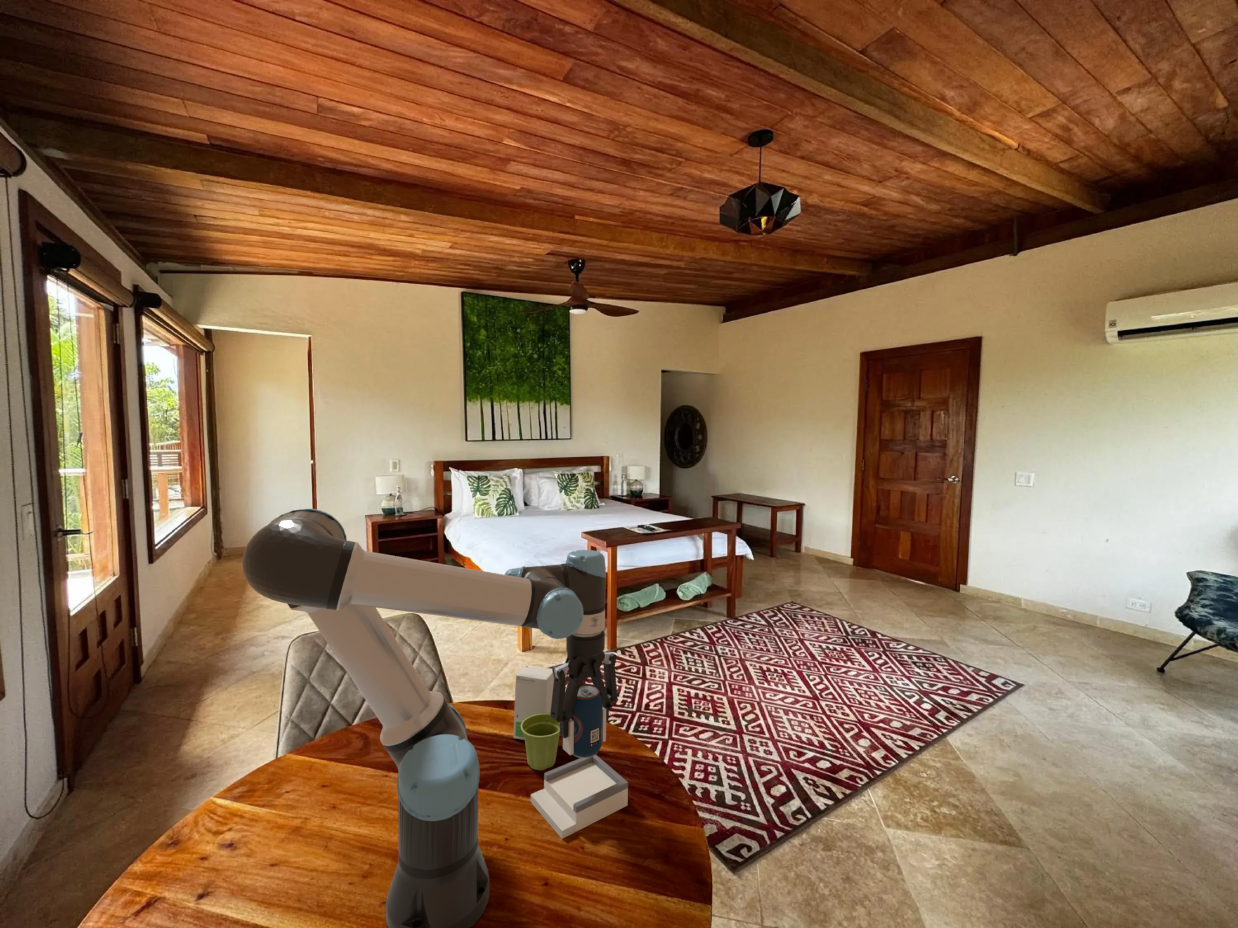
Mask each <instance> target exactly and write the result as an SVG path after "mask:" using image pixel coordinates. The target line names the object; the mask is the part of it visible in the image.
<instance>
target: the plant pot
mask: <svg viewBox="0 0 1238 928" xmlns="http://www.w3.org/2000/svg"><path fill="white" fill-rule="evenodd" d="M521 730H522V732H523V735H524V737H525V740H524V742H525V743H524V746H525V753H526V760H527V764H528V766H529V767H530V768H531V769H532V770H537V771H544V770H546V769H549V768H552V767H553V766H554V765H555V763H556V758H557V754H558V753H557V752H558V746H559V739H560V736H561V735H560V722H557V721H556V720H555V719H553V718H552V717H551V716H550V714H546V713H543V714H536V715H532V716H530V717H528V718H526V719H525V720H524V721H523V722H522V724H521Z"/></svg>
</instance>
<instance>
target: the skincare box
mask: <svg viewBox="0 0 1238 928" xmlns="http://www.w3.org/2000/svg"><path fill="white" fill-rule="evenodd" d="M552 669H553V668H549V667H543V666H541V665H540V666H535V665H529V664H524V666H523V667H521V669H520V670H519V671H518V672H517V673H516V674H515V689H514V690H515V691H514V692H515V693H514V712H513V713H514V715H513V716H514V720H513V738H514V739H518V740H524V741H525V737H524V735H523V732H522V730H521V724H522V722H523V721H524V720H525V719H526V718H528V717H530V716H532V715H536V714H543V713H546V714H550V712H551V703H552V693H553V684H554V676H553V671H552Z"/></svg>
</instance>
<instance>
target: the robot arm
mask: <svg viewBox="0 0 1238 928" xmlns="http://www.w3.org/2000/svg"><path fill="white" fill-rule="evenodd" d="M347 539H348V537H347V534H346V531H345V528H344V527H343V525H342V524H341V522H339V520H338V519H336V517H334V516H333V515H332V514H330V513H328V512H326V511H323V510H321V509H316V508H298V509H292V510H290V511H289V512H285V513H282V514H280V515H279V516H278V517H275V518H274V519H272V520H271V521H270V522H269V523H268V524H267V525H265V526H264V527H262V528H261V529H259V530H258V531H257V532H256V533H254V535H253V536H252V537H251V539H250V540H249V542H247V544H246V547H245V549H244V551H243V553H242V554H243V555H242V560H241V561H242V562H241V564H242V572H243V575H244V578H245V580H246V582H247V583H248V584H249V586H250V587H251V588H252V589H253V590H254V591H255V592H256V593H257V594H259V595H261V596H263V597H264V598H267V599H269V600H270V601H276V602H279V603H282V604H287V606H288V607H289V608H290V610H292V611H298V612H305V613H307V615H308V616H309V618H310V619H311V621H312V622H313V624H314V626H315V627H316V628H317V630H318V632H319V633H320V634H321V636H322V637H323V639H324V640H325V642H326V643H327V644H328V647H329V648H330V649H331V651H332V652H333V654H334V655H335V657H336V658H337V660H339V662H340V664H341V666H342V667H343V669H344V670H345V671H346V673H347V675H348V676H349V678H350V679H351V681H352V682H353V683H354V685H355V687H356V688H357V689H358V691H359V692H360V694H361V695H362V697H363V699H364V700H365V701H366V703H367V704H368V706H369V707H370V708H371V711H372V712H373V713H374V714H375V716H376V717H377V719H378V721H379V722H380V723H381V725H382V729H381V732H380V735H379V741H380V743H381V744H382V746H383V747H384V749H385V750H386V752H387V754H389V756H390V758H391V759H392V761H393V762H394V763H395V765H396V768H397V771H398V775H397V778H396V791H397V792H396V793H397V796H398V799H397V800H398V802H397V803H398V804H397V805H398V816H397V817H398V822H397V823H398V826H397V827H398V836H397V837H398V862H397V865H396V868H395V871H394V874H393V877H392V880H391V883H390V886H389V889H388V892H387V896H386V902H385V922H386V926H388V927H387V928H470V927H471V928H472V927H473V926H474V925H475V924H476V923H477V922H478V920H479V919H480V918H481V916H482V915H483V913H484V912H485V910H486V908H487V905H488V903H489V898H490V873H489V869H488V867H487V864H486V861H485V858H484V855H483V853H482V850H481V847H480V846H479V783H480V776H481V775H480V774H481V770H480V769H481V768H480V762H479V758H478V753H477V751H476V748H475V746H474V745H473V744H472V743H471V742H470V741H469V740H468V731H467V729H466V728H467V727H466V723H465V721H464V719H463V717H462V715H461V713H459V711H458V710H457V709H456V708H455V707H454V706H452V705H451V704H449V702H448V701H447V700H446V698H445V697H444V695H443V694H442V693H441V692H439V691H434V690H433V691H430V690H428V688H427V686H426V685H425V683H424V681H423V680H422V678H421V677H420V675H419V673H418V671H416V669H415V667H414V666H413V664H412V663H411V660H410V659H409V658H408V656H407V655H406V653H405V651H404V650H403V648H402V647H401V645H400V643H399V642H398V640H397V639H396V637H395V635H394V634H393V633H392V631H391V629H390V627H389V626H388V624H387V623H386V621H385V620H384V618H383V617H382V615H381V614H380V611H378V609H384V610H392V611H400V612H406V613H407V612H408V613H409V612H410V613H416V614H424V615H429V616H430V615H433V616H439V617H446V618H452V619H462V620H468V621H475V622H477V621H478V622H482V623H483V622H485V623H492V624H499V625H508V626H515V627H524V628H527V629H528V628H529V629H536V630H539V631H540V632H541V633H542V634H544V635H546V636H548V637H549V638H551V639H554V640H555V639H556V640H559V639H560V640H562V639H566V643H565V645H566V654H567V657H566V659H565V662H564V663H563V664H562V665H560V666H557V665H554V666H553V667H552V668H551V669H552V671H553V676H554V684H553V693H552V703H551V712H550V716H551V717H552V718H553V719H555V720H556V721H557V722H560V735H559V736H561V737H562V749H563V751H565V752H566V753H567V754H568V755H569V756H572V755H573V752H574V721H573V720H572V719H571V715H572V711H573V708H574V705H575V701H576V698H577V695H578V691H579V688H580V687H581V686H582V684H584V681H585V680H587V679H591V682H592V685H595V686H596V687H597V688H599V690H600V694H601V696H602V698H603V709H602V743H604V742H607V723H608V722H609V719H610V714H609V713H610V710H611V709H613V706H614V705H613V704H612V703H616V702H618V698H619V696H618V688H617V676H616V661H617V655H616V654H615V653H613V652H611V651H610V650H607V651H604V650H605V647H606V644H605V643H606V633H605V628H606V624H605V623H606V578H607V574H606V573H607V572H606V571H607V570H606V558H605V556H604V555H603V553H601V552H600V551H597V550H592V549H579V550H574V551H570V552H569V553H567V556H566V560H565V563H561V564H559V563H558V564H549V565H547V564H546V565H537V566H525V565H523V566H521V567H516V568H509V569H507V570H506V571H505V572H504V574H502V573H496V572H491V571H485V570H484V571H483V570H477V569H472V568H468V567H467V568H466V567H461V566H456V565H455V566H454V565H449V564H443V563H438V562H431V561H425V560H422V559H421V560H419V559H415V558H409V557H402V556H397V555H396V556H395V555H392V554H391V555H390V554H386V553H380V552H379V553H378V552H372V551H366V550H364V549H363V548H362V546H361V545H360V542H357V541H353V540H352V541H351V540H347ZM602 665H603V668H602V669H603V673H602V670H601V666H602ZM568 672H569V673H568ZM567 673H568V674H567ZM566 678H567V680H566ZM603 678H604V679H603Z"/></svg>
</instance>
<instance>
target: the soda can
mask: <svg viewBox="0 0 1238 928" xmlns="http://www.w3.org/2000/svg"><path fill="white" fill-rule="evenodd" d="M602 709H603V698H602V696H601V694H600V690H599V688H597V687H596V686H595V685H593V683H592V684H591V683H583V684H582V686H581V687H580V688H579V691H578V695H577V698H576V701H575V705H574V708H573V711H572V715H571V719H572V720H573V721H574V752H573V754H572V755H573V756H574V757H576V758H578V759H580V758H589V757H592V756H594V755H597V754H598V753H599V751H600V749H601V748H602V745H603V742H602Z"/></svg>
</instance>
